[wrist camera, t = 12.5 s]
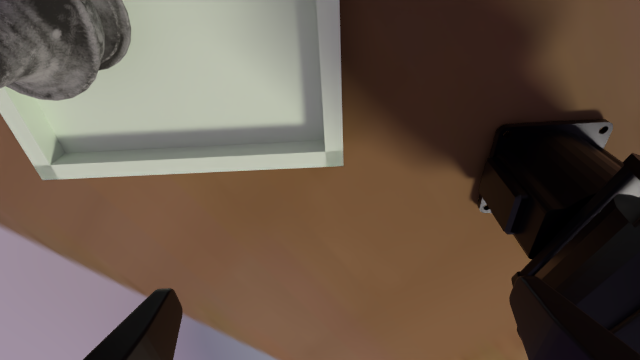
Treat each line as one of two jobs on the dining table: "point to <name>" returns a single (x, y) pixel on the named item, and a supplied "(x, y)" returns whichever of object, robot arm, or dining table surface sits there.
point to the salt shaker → (60, 44)
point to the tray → (198, 95)
